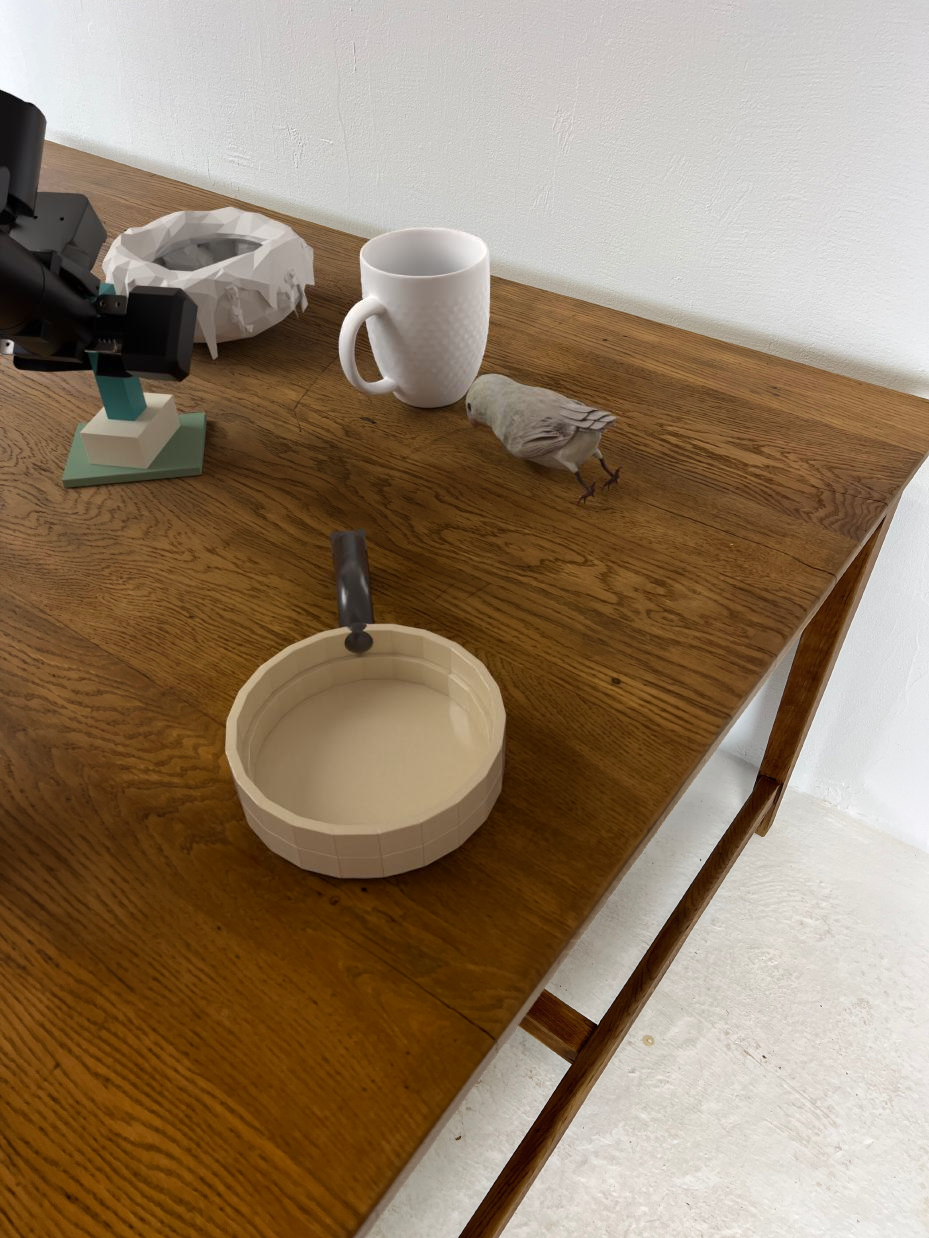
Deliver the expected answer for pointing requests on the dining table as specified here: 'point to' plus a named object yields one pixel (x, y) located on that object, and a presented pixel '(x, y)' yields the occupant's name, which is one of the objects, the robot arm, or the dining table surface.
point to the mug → (421, 314)
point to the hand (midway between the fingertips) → (123, 364)
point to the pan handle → (353, 587)
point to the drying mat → (171, 461)
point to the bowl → (218, 268)
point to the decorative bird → (540, 424)
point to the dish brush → (127, 419)
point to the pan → (367, 751)
